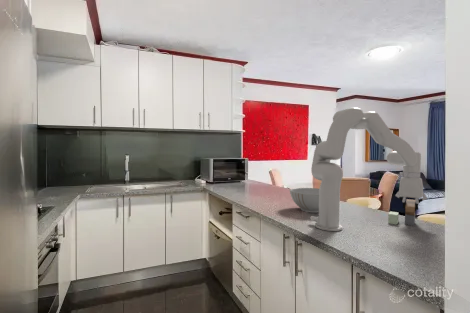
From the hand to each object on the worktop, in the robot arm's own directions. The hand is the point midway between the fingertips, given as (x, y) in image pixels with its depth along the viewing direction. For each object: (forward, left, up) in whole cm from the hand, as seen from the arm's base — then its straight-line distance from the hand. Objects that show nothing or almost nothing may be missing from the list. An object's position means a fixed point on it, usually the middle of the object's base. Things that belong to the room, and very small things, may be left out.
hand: (410, 210), depth 138 cm
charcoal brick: (0, 0, -7) cm, 7 cm away
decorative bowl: (-51, -5, -7) cm, 52 cm away
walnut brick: (0, +2, -1) cm, 2 cm away
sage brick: (-7, -3, -7) cm, 11 cm away
